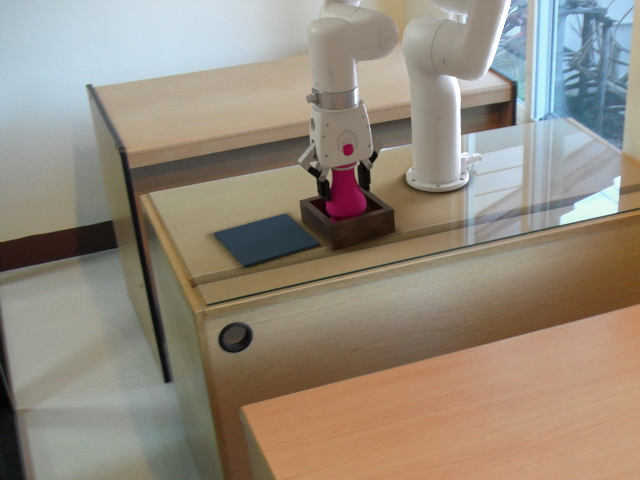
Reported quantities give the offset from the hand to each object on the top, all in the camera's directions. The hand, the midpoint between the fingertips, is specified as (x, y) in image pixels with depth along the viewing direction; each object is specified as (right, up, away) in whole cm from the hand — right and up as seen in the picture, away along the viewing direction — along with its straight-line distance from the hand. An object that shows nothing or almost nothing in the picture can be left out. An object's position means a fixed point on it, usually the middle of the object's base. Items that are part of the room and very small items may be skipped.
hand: (345, 192), depth 168 cm
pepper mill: (0, -6, +4) cm, 7 cm away
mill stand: (0, -6, +4) cm, 7 cm away
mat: (-14, -9, 0) cm, 16 cm away
